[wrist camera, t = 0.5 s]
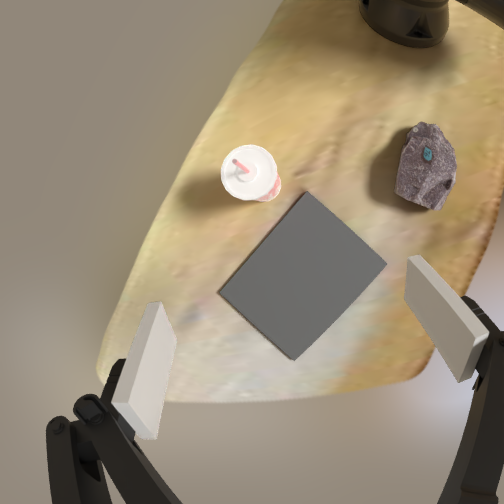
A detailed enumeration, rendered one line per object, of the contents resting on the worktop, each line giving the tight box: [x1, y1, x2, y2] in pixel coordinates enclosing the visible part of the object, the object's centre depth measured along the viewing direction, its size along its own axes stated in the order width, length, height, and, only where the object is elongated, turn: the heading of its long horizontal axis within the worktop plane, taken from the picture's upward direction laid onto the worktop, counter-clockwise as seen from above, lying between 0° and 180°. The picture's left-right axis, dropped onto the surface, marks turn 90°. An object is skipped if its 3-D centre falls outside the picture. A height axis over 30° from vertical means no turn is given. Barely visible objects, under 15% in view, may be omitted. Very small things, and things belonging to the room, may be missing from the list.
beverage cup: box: [221, 145, 281, 202], centre depth 35 cm, size 6×6×14 cm
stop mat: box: [219, 191, 387, 361], centre depth 40 cm, size 18×14×1 cm
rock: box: [394, 122, 457, 210], centre depth 34 cm, size 8×11×5 cm
